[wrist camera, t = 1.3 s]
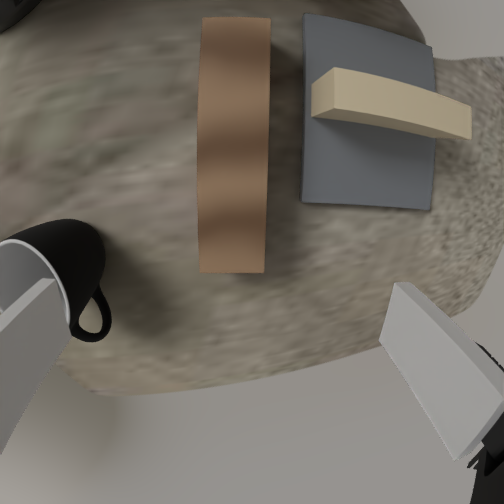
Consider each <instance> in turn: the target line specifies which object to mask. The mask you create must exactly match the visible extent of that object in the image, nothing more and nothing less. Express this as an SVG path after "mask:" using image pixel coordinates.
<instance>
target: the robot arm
mask: <svg viewBox="0 0 504 504" xmlns="http://www.w3.org/2000/svg"><path fill="white" fill-rule="evenodd" d="M40 1H41V0H0V32H2V31H4V30H6V29H8V28H9V27H11V26H12V25H14V24H15V23H17V22H18V21H19V20H21V19H22V18H23V17H24V16H25V15H26V14H28V13H29V12H30V11H31V10H32V9H33V8H34V7H35V6H36V5H37V4H38V3H39V2H40ZM71 338H72V336H71V332H70V329H69V326H68V323H67V320H66V316H65V313H64V309H63V306H62V302H61V298H60V294H59V290H58V286H57V282H56V279H46V278H42V279H41V280H39V281H38V282H37V283H36V284H35V285H33V286H32V287H31V288H30V289H29V290H28V291H26V292H25V293H24V294H23V295H22V296H21V297H20V298H19V299H17V300H16V301H15V302H14V303H13V304H12V305H11V306H10V307H9V308H8V309H6V310H5V311H4V312H3V313H2V314H1V315H0V454H2V452H3V450H4V448H5V446H6V444H7V442H8V440H9V438H10V436H11V434H12V433H13V431H14V429H15V427H16V425H17V423H18V422H19V420H20V418H21V416H22V414H23V413H24V411H25V409H26V408H27V406H28V404H29V402H30V401H31V399H32V397H33V396H34V394H35V393H36V390H37V389H38V388H39V386H40V384H41V382H42V381H43V380H44V378H45V377H46V375H47V373H48V372H49V370H50V369H51V367H52V366H53V364H54V363H55V361H56V360H57V358H58V357H59V355H60V354H61V352H62V351H63V350H64V348H65V347H66V345H67V344H68V342H69V341H70V339H71ZM379 342H380V343H381V344H382V346H383V347H384V349H385V350H386V352H387V353H388V355H389V356H390V358H391V359H392V361H393V362H394V364H395V365H396V367H397V369H398V370H399V372H400V373H401V375H402V376H403V378H404V379H405V381H406V382H407V384H408V385H409V387H410V389H411V390H412V391H413V393H414V395H415V396H416V398H417V400H418V401H419V403H420V405H421V406H422V408H423V409H424V411H425V413H426V414H427V416H428V417H429V419H430V421H431V423H432V424H433V426H434V428H435V429H436V431H437V433H438V434H439V436H440V438H441V439H442V441H443V443H444V445H445V446H446V448H447V450H448V452H449V453H450V455H451V457H452V459H453V461H456V460H458V459H460V458H462V457H464V456H465V455H468V454H469V453H471V452H472V451H473V450H474V449H475V447H476V446H477V445H478V444H479V443H480V442H481V441H482V442H483V444H484V447H483V448H482V449H481V450H480V451H479V452H478V454H477V455H476V456H475V457H474V458H473V459H472V460H471V461H470V462H469V464H468V466H467V468H470V467H471V466H472V465H473V464H474V463H475V462H476V461H477V460H478V459H479V460H478V463H477V464H476V465H475V467H474V468H473V469H476V470H477V473H476V478H475V484H474V488H473V494H472V498H471V501H470V504H504V368H503V367H502V366H501V365H498V362H497V361H496V360H495V359H494V358H493V357H491V355H490V354H489V353H488V352H487V351H486V349H485V348H484V347H483V346H481V345H479V344H477V343H476V342H474V341H473V340H472V339H471V338H470V337H469V336H468V335H467V334H466V333H465V332H464V331H463V330H462V329H461V328H460V327H459V326H458V325H457V324H456V323H455V322H453V321H452V320H451V319H450V318H449V317H448V316H447V315H446V314H445V313H444V312H443V311H442V310H441V309H440V308H439V307H437V306H436V305H435V304H434V303H433V302H432V301H431V300H430V299H429V298H428V297H426V296H425V295H424V294H423V293H422V292H421V291H420V290H419V289H417V288H416V287H415V286H414V285H413V284H412V283H411V282H394V286H393V290H392V294H391V298H390V302H389V306H388V310H387V314H386V317H385V321H384V324H383V328H382V331H381V335H380V338H379Z"/></svg>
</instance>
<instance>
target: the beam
mask: <svg viewBox="0 0 504 504" xmlns="http://www.w3.org/2000/svg"><path fill="white" fill-rule="evenodd" d="M270 36H271V18H255V17H205V18H203V20H202V33H201V48H200V66H199V87H198V121H197V207H198V242H199V265H200V273H264V261H265V235H266V207H267V176H268V140H269V98H270Z"/></svg>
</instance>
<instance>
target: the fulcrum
mask: <svg viewBox="0 0 504 504" xmlns="http://www.w3.org/2000/svg"><path fill="white" fill-rule="evenodd" d="M302 20H303V126H302V158H301V181H300V201H301V202H311V203H335V204H354V205H371V206H386V207H399V208H412V209H423V210H430V202H431V194H432V185H433V174H434V161H435V142H436V138H447V139H464V140H471V136H472V115H471V106H468V105H466V104H463V103H461V102H458V101H456V100H453V99H451V98H448V97H446V96H443V95H440V94H437V93H435V76H434V64H433V54H432V47H430V46H427V45H425V44H422V43H420V42H417V41H415V40H412V39H409V38H406V37H403V36H401V35H398V34H395V33H391V32H388V31H385V30H382V29H378V28H375V27H371V26H367V25H364V24H360V23H356V22H351V21H347V20H342V19H338V18H333V17H327V16H322V15H316V14H309V13H304V15H303V17H302Z"/></svg>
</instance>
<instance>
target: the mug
mask: <svg viewBox="0 0 504 504" xmlns="http://www.w3.org/2000/svg"><path fill="white" fill-rule="evenodd" d="M104 266H105V251H104V246H103V243H102V241H101V239H100V237H99V235H98V234H97V233H96V231H95V230H94V229H93V228H92V227H91V226H89V225H88V224H86V223H84V222H82V221H79V220H75V219H61V220H55V221H50V222H46V223H43V224H40V225H37V226H34V227H31V228H28V229H26V230H23V231H21V232H18V233H16V234H14V235H12V236H10V237H8V238H7V239H5V240H3V241H2V242H1V243H0V311H1V312H2V313H3V312H4V311H5V310H6V309H8V308H9V307H10V306H11V305H12V304H13V303H14V302H15V301H16V300H17V299H19V298H20V297H21V296H22V295H23V294H24V293H25V292H26V291H28V290H29V289H30V288H31V287H32V286H33V285H35V284H36V283H37V282H38V281H39V280H41V279H42V278H46V279H56V282H57V286H58V290H59V294H60V298H61V302H62V306H63V309H64V313H65V316H66V320H67V323H68V326H69V329H70V332H71V335H72V336H74V337H75V338H77V339H80V340H82V341H85V342H97V341H100V340H102V339H103V338H104V337H105V336H106V335H107V334H108V332H109V331H110V328H111V323H112V318H111V311H110V308H109V305H108V303H107V300H106V298H105V297H104V295H103V293H102V291H101V288H100V285H99V282H100V279H101V276H102V273H103V270H104ZM91 297H92V298H93V299H94V300H95V301H96V303H97V305H98V306H99V309H100V311H101V315H102V320H103V323H102V328H101V331H100V332H99V333H89V332H87V331H85V330H83V329H82V328H81V327H80V325H79V317H80V315H81V313H82V311H83V310H84V308H85V307H86V305H87V303H88V302H89V300H90V298H91Z"/></svg>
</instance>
